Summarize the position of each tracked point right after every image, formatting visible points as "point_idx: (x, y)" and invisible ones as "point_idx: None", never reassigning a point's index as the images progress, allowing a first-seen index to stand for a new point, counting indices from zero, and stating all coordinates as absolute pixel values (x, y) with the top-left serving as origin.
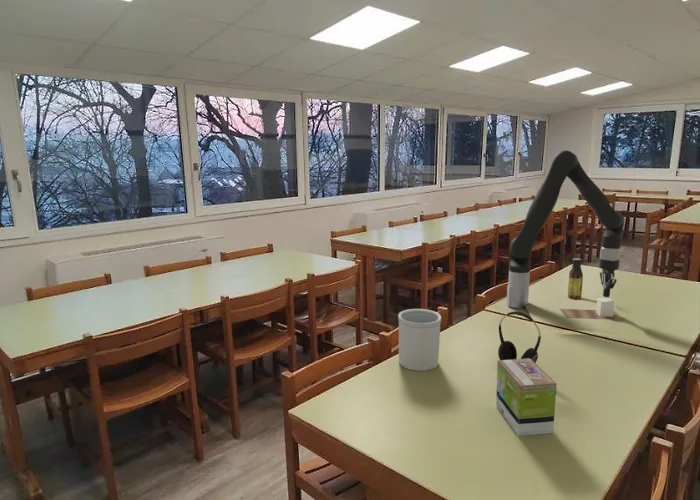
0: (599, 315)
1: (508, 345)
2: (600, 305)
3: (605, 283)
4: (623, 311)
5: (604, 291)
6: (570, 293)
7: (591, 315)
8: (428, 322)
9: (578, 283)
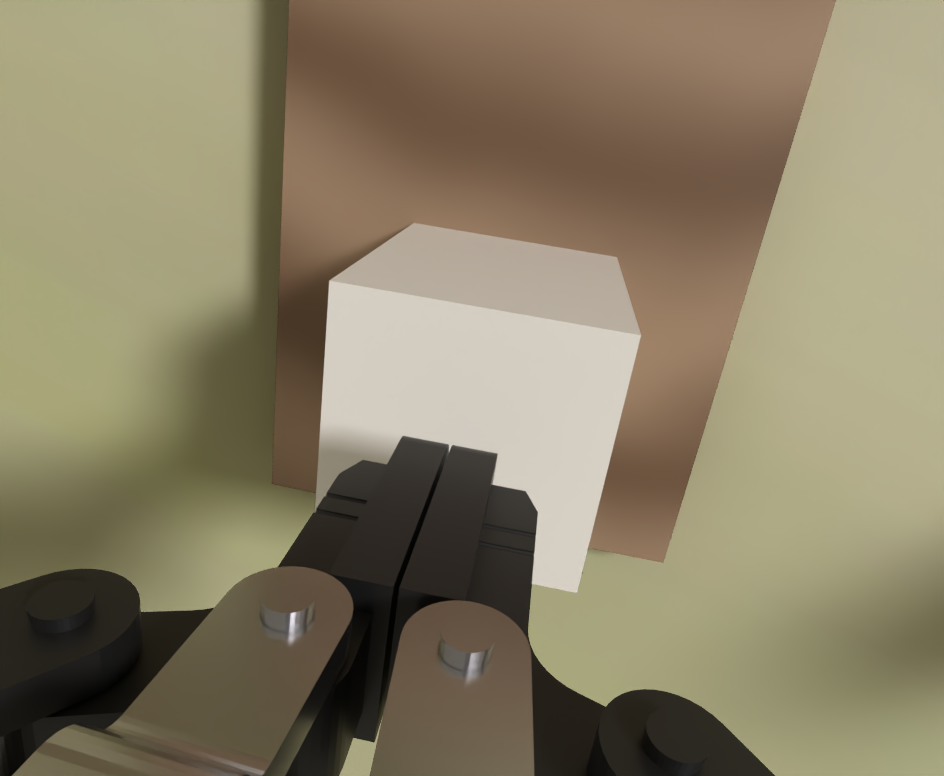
0: (436, 227)
1: None
2: (394, 265)
3: (62, 762)
4: (730, 691)
5: (367, 513)
6: None
7: (455, 89)
8: None
9: None
